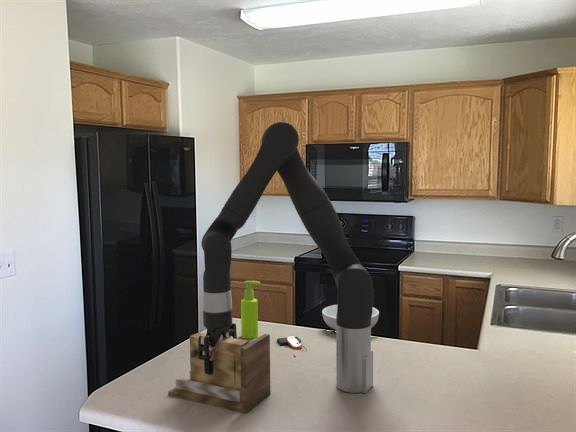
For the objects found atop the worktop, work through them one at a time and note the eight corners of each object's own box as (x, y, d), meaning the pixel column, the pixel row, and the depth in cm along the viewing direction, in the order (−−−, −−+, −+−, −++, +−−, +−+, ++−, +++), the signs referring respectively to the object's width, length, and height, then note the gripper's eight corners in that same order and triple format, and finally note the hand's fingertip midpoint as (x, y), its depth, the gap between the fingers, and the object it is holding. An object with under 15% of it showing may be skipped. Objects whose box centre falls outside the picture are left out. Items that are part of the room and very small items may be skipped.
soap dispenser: (258, 339, 179) (257, 283, 177) (239, 338, 180) (238, 282, 178) (262, 334, 184) (261, 279, 183) (244, 333, 186) (243, 278, 184)
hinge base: (270, 394, 135) (269, 334, 133) (246, 413, 124) (245, 349, 123) (196, 378, 145) (194, 323, 144) (168, 395, 135) (166, 335, 133)
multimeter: (324, 357, 162) (324, 347, 162) (287, 360, 160) (287, 349, 159) (310, 340, 180) (310, 330, 180) (276, 342, 177) (276, 332, 177)
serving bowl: (313, 324, 196) (313, 306, 195) (361, 318, 203) (362, 301, 203) (337, 341, 176) (337, 321, 176) (390, 334, 184) (390, 315, 183)
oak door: (252, 394, 132) (251, 341, 131) (242, 402, 128) (241, 347, 127) (198, 382, 140) (197, 332, 139) (187, 389, 135) (185, 338, 134)
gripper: (213, 316, 125) (215, 380, 126) (244, 302, 137) (245, 361, 139) (188, 312, 128) (190, 375, 129) (220, 299, 141) (222, 357, 142)
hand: (218, 368), depth 134 cm, fingers open, 8 cm apart
